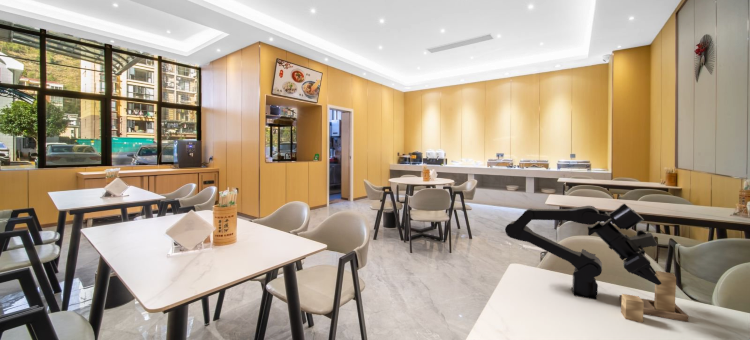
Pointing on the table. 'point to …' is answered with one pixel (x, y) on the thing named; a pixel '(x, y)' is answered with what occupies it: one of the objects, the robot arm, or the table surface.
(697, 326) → the table surface
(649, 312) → the socket board
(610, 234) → the robot arm
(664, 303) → the long peg
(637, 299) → the short peg
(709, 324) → the table surface
